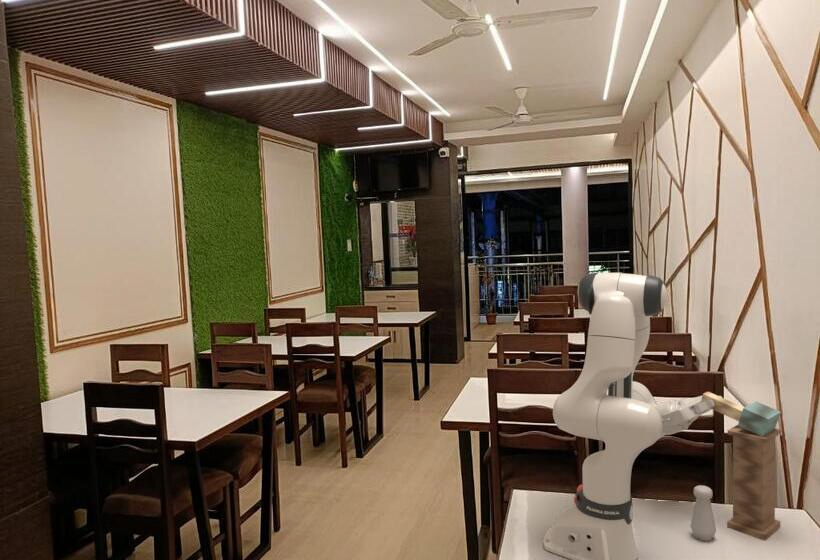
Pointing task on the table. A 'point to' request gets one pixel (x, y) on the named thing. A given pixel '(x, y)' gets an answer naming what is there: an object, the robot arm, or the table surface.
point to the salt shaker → (703, 514)
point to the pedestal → (753, 483)
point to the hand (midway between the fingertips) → (717, 400)
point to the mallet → (746, 414)
